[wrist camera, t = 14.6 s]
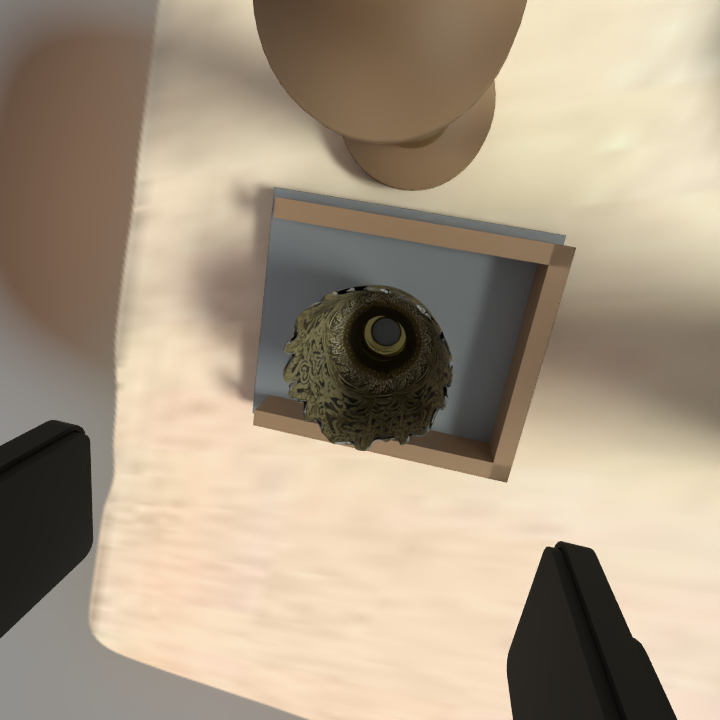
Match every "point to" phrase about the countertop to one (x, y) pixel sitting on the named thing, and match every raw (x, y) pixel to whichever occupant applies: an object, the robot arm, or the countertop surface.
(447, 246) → the wooden tray
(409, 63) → the bobbin post
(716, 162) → the countertop surface
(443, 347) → the cup
